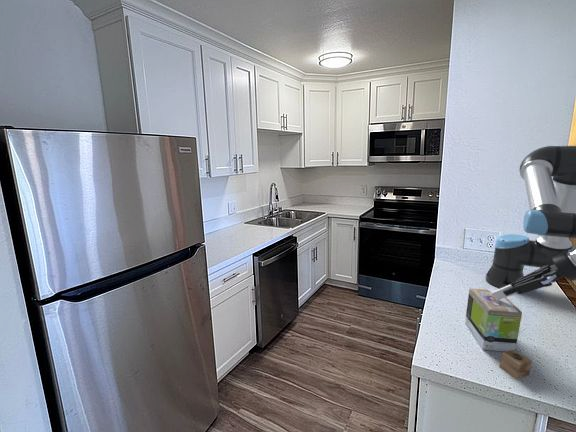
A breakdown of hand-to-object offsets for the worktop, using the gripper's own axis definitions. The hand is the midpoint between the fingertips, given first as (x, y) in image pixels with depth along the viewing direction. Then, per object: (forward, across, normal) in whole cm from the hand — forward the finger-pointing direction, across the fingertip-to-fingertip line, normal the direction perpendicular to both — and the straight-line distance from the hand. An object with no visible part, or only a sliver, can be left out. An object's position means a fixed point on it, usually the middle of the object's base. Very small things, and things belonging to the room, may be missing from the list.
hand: (495, 296), depth 98 cm
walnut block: (+5, -12, -18) cm, 22 cm away
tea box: (+11, +1, -12) cm, 16 cm away
